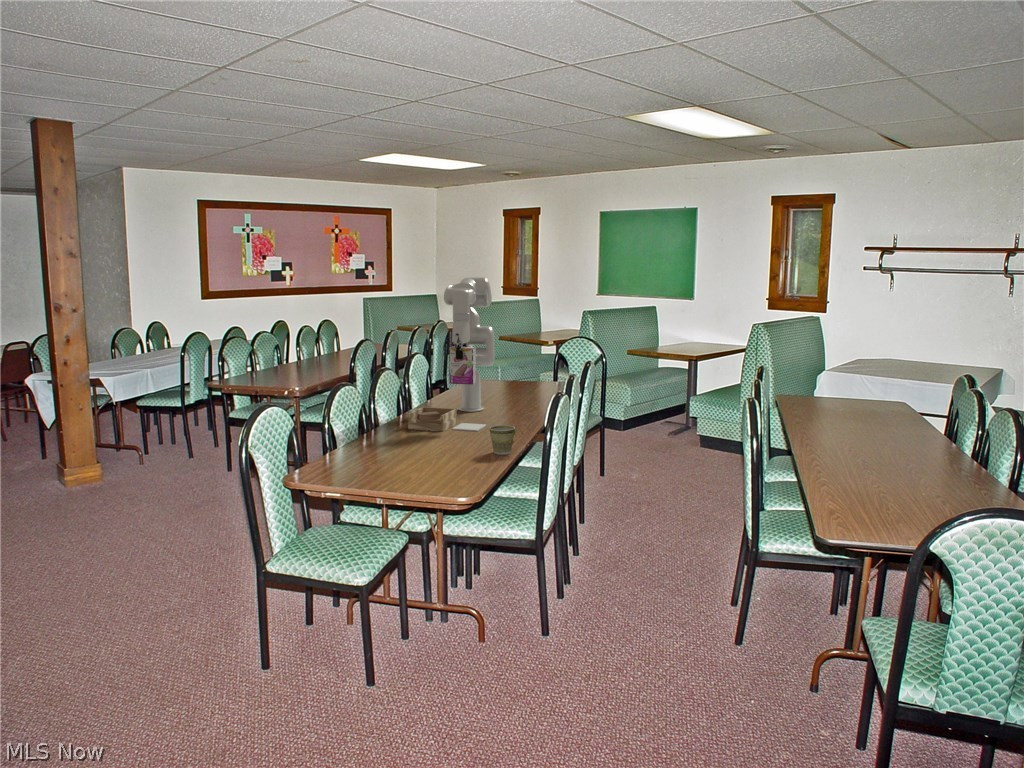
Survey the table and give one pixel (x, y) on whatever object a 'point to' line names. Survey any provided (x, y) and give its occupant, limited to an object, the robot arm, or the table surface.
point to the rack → (447, 421)
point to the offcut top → (428, 416)
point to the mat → (469, 427)
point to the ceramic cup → (503, 438)
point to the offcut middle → (429, 421)
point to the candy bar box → (462, 366)
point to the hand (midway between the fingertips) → (462, 358)
